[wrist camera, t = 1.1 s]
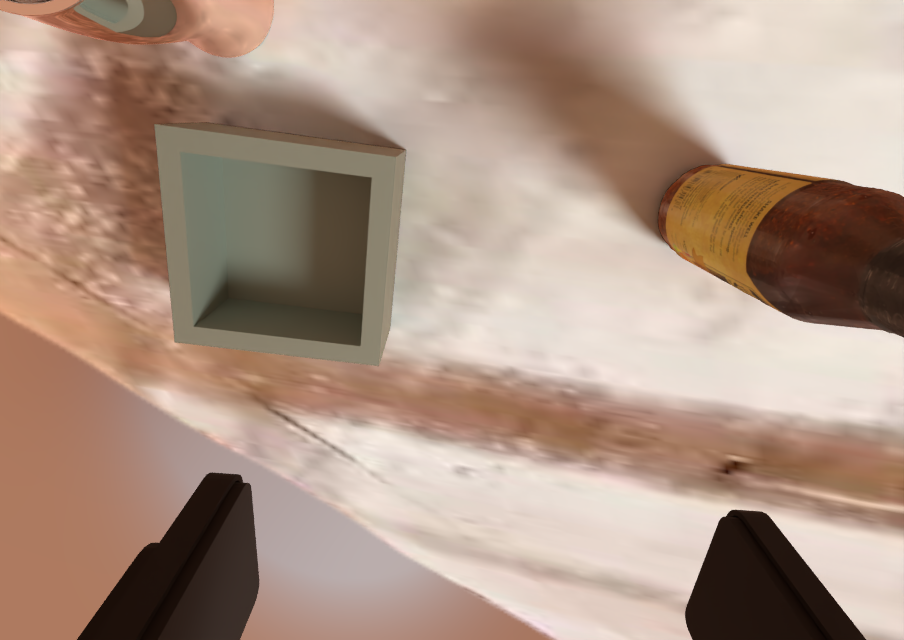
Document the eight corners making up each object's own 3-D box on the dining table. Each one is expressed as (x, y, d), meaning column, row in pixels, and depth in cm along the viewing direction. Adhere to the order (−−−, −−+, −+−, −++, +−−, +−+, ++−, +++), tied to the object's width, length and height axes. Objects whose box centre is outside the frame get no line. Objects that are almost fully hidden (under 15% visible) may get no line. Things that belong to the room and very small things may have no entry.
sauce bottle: (653, 262, 34) (888, 436, 16) (653, 169, 32) (929, 244, 13) (751, 248, 34) (1110, 409, 15) (758, 152, 31) (1194, 206, 13)
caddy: (206, 122, 31) (154, 124, 25) (406, 149, 31) (396, 157, 26) (216, 307, 35) (174, 342, 30) (390, 328, 36) (378, 366, 31)
